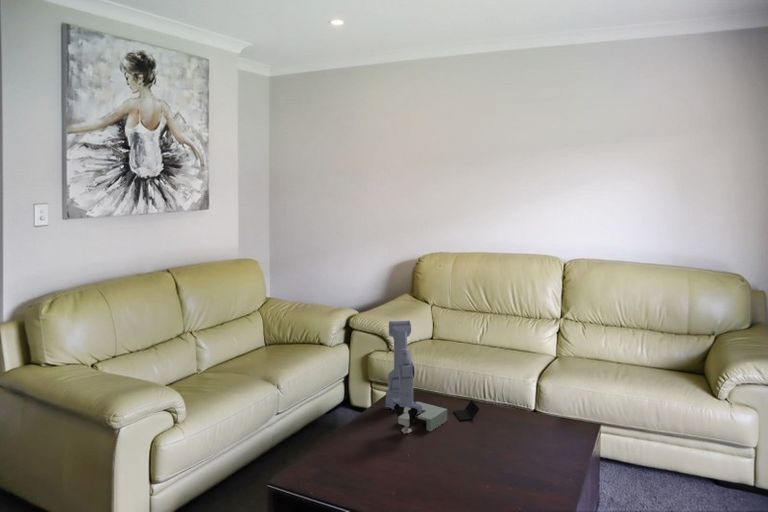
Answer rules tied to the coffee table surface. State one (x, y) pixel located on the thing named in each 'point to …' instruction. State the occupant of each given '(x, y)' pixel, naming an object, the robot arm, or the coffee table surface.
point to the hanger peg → (405, 422)
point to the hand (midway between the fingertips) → (406, 423)
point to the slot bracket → (431, 415)
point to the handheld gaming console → (467, 412)
